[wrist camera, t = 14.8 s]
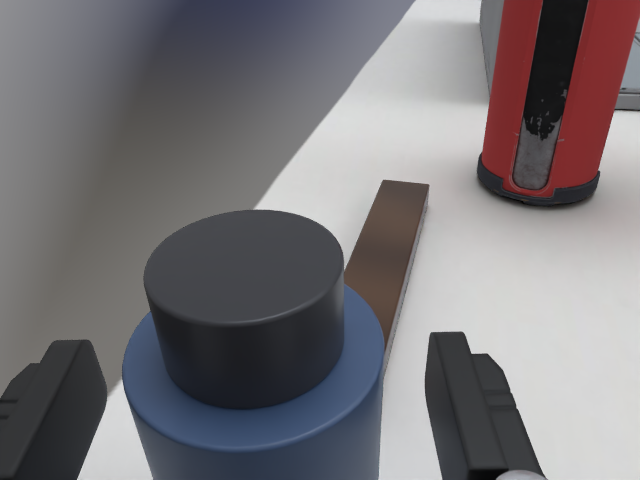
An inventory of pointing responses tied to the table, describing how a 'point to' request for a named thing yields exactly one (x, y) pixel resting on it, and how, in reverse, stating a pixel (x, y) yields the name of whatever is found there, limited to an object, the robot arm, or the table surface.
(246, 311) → the water bottle
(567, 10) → the speaker
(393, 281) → the walnut strip
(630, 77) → the laptop
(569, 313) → the table surface
